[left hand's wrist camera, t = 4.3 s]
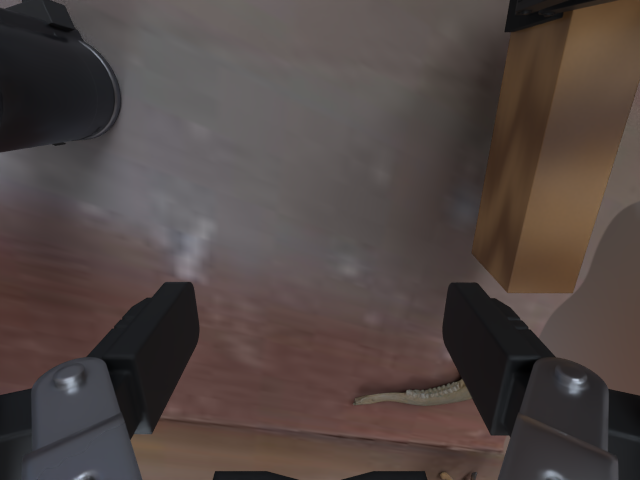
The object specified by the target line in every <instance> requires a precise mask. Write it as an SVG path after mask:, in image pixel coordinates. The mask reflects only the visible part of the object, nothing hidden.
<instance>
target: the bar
mask: <svg viewBox="0 0 640 480" xmlns="http://www.w3.org/2000/svg"><path fill="white" fill-rule="evenodd" d="M639 81H640V0H617V1H613V2H608V3H604V4H599V5H594V6H590V7H585V8H580V9H576V10H571V11H567V12H564V13H563V17H562V18H560V19H556V20H553V21H550V22H546V23H543V24H539V25H536V26H533V27H529V28H526V29H523V30H519V31H516V32H511V35H510V41H509V47H508V52H507V58H506V63H505V69H504V74H503V80H502V86H501V91H500V97H499V102H498V108H497V114H496V119H495V125H494V130H493V136H492V141H491V147H490V153H489V158H488V164H487V169H486V175H485V180H484V186H483V192H482V197H481V203H480V208H479V214H478V219H477V225H476V231H475V236H474V242H473V247H472V254H473V255H474V256H475V258H476V259H477V260H478V261H479V262H480V263H481V264H482V265H483V266H484V268H485V269H486V270H487V271H488V272H489V273H490V274H491V275H492V276H493V277H494V279H495V280H496V281H497V282H498V283H499V284H500V285H501V286H502V287H503V288H504V290H505V291H506V292H507V293H573V291H574V287H575V284H576V281H577V278H578V275H579V272H580V268H581V265H582V262H583V259H584V256H585V252H586V249H587V246H588V243H589V240H590V237H591V233H592V230H593V227H594V224H595V221H596V217H597V214H598V211H599V208H600V205H601V202H602V198H603V195H604V192H605V189H606V186H607V182H608V179H609V176H610V173H611V170H612V166H613V163H614V160H615V157H616V154H617V151H618V147H619V144H620V141H621V138H622V135H623V131H624V128H625V125H626V122H627V119H628V116H629V112H630V109H631V106H632V103H633V100H634V96H635V93H636V90H637V87H638V84H639Z"/></svg>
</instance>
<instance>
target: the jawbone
mask: <svg viewBox="0 0 640 480" xmlns="http://www.w3.org/2000/svg"><path fill="white" fill-rule="evenodd" d="M469 399H472V397H471V395H470V393H469V391H468V389H467V387H466V385H465V383H464V381H463V379H461V380H460V381H457V382H455V383H454V382H453V383H451V385H450V384H449V383H448V385H447V386H445V385H443V386H442V387H440V386H439V387H437V389H436V388H433V389H431V388H430V389H428V390H425V392H424V390H421V391H419V390H417V389H416V390H413V391H412V390H410V389H409V390H406V392H405V393H381V394H374V395H366V396H362V397H358V398H355V403H353V405H361V404H372V403H376V402H381V401H394V402H400V403H406V404H412V405H422V406H429V405H440V404H447V403H454V402H460V401H464V400H469Z"/></svg>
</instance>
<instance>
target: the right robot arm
mask: <svg viewBox="0 0 640 480" xmlns="http://www.w3.org/2000/svg"><path fill="white" fill-rule="evenodd" d="M613 1H617V0H510V4H509V9H508V15H507V21H506V27H505V32H516V31H519V30H523V29H526V28H529V27H533V26H536V25H539V24H543V23H546V22H550V21H553V20H556V19H560V18H562V17H563V13H564V12H567V11H571V10H576V9H580V8H585V7H590V6H594V5H599V4H604V3H608V2H613Z"/></svg>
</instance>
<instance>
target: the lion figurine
mask: <svg viewBox="0 0 640 480" xmlns="http://www.w3.org/2000/svg"><path fill="white" fill-rule="evenodd" d="M476 475H477V472H474V473H472V475H471V480H475V479H476ZM440 477H441V479H442V480H453V479H452V478H451V477H450V476H449V475H448V474H447V473H445V472H442V473H440Z"/></svg>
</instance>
